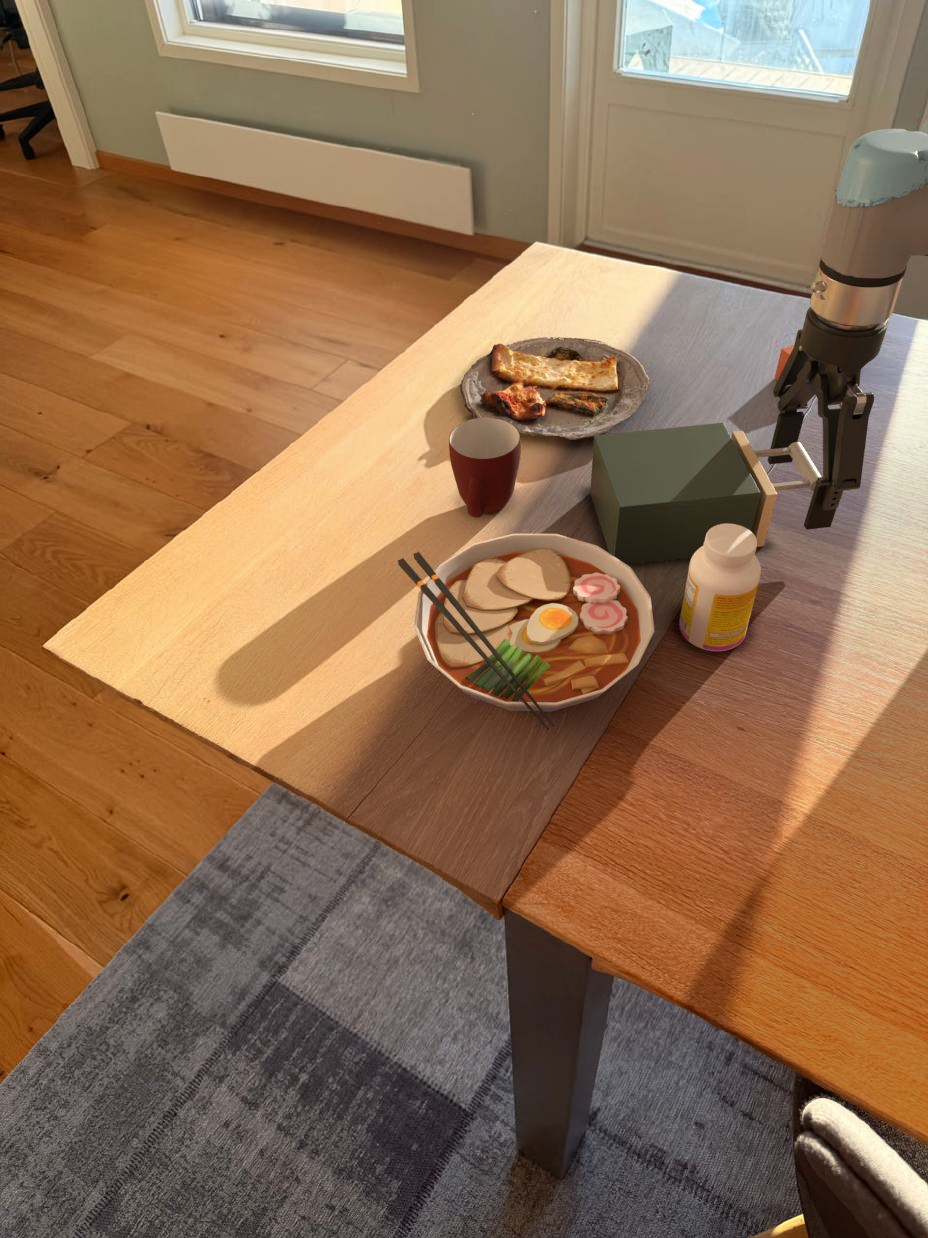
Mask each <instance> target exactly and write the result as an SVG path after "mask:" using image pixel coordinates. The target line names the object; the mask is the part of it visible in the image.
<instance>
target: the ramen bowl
mask: <svg viewBox="0 0 928 1238" xmlns="http://www.w3.org/2000/svg"><path fill="white" fill-rule="evenodd" d="M413 559H414V560H415V562H416V563H417V564H418V565H419V566H420V568H421V570H423V571H424V573H425V574H426V575H427V576H428V577H429V578H428V579H427V580H426V582H424V581H423V580H422V578H421V576H419V575H418V574H417V572H416V571H415V569H413V568H412V566H411V565H410V564H409V563H408V562H407V560H405V558H404V557H402V558H400V559H398V560H397V565H398V566H399V567H400V569H401V570H402V571H403V572H404V573H405V574H406V575H407V576H408V577H409V578H410V580H411V581H412V582H413V583H414V584H415V585H416V586H417V587H418V588H419V589H420V590H419V592H418V594H417V599H416V610H415V614H414V623H413V628H414V630H415V633H416V636H417V638H418V640H419V643H420V646H421V648H422V650H423V653H424V655H425V658H426V660H427V661H428V662H429V663H430V664H431V665H432V666H433V667H434V668H435V669H436V670H437V671H438V672H440V673H441V674H442V675H443V676H444V677H445V678H447V679H448V680H449V681H450V682H451V683H452V684H454V685H455V686H456V687H457V688H459V690H460V691H462V692H463V693H464V694H466V695H468V696H470V697H472V698H475V699H477V700H479V701H483V702H485V703H488V704H491V705H493V706H496V707H499V708H501V709H504V710H507V711H511V712H531V713H532V714H533V716H534V717H536V719H537V720H538V721H539V722H540V723H541V724H542V725H543V726H544V728H545V729H546V730H550V727H549V726H548V725H547V724H546V723H545V721H543V720H542V718H541V717H540V716H539V715H538V714H537V712H540V713H541V714H542V715H543V717H544V718H545V719H546V720H547V721H548V723H549V724H550V725H551V726H552V728H554V727H555V724H554V723H553V722H552V720H551V719H550V717H548V715H547V714H546V713H545V712H551V713H552V712H555V711H559V710H562V709H565V708H569V707H573V706H577V705H579V704H583V703H586V702H589V701H592V700H595V699H597V698H599V697H600V696H601V695H603V694H604V693H605V692H607V691H608V690H609V689H610V688H612V687H613V686H615V684H616V683H618V682H619V681H620V680H622V679H623V678H624V677H626V676H627V675H628V674H629V673H631V671H633V670H634V669H635V668H636V667H637V666H639V664H640V662H641V659H642V657H643V655H644V653H645V652H646V650H647V648H648V645H649V643H650V641H651V639H652V637H653V635H654V633H655V624H654V615H653V607H652V598H651V595H650V594H649V592H648V590H647V589H646V588H645V586H644V585H643V583H642V582H641V580H640V578H638V576H637V574H636V573H635V572H634V570H633V568H632V567H631V566H629V564H627V565H626V564H625V563H623V562H622V561H620V560H619V559H617V558H616V557H614V556H613V555H611V554H610V553H609V551H606V550H605V549H603V548H602V547H600V546H598V545H596V544H593V543H591V542H587V541H583V540H579V539H576V538H574V537H573V538H572V537H569V536H565V535H562V534H559V533H511V534H506V535H503V536H502V535H501V536H498V537H495V538H490V539H486V540H482V541H479V542H474V543H471V544H470V545H469V546H467V547H466V548H464V549H462V550H461V551H459V552H457V553H456V554H454V555H453V556H451V557H449V558H448V559H446V560H444V561H443V562H441V563H440V564H439V565H438V566H437V568H436V569H435V570H434V569H433V568H432V567H431V565H430V564H429V562H428V561H427V560H426V558H424V556H423V555H422V554H421V553H420V551H416V552H414V553H413Z"/></svg>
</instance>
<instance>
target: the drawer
mask: <svg viewBox="0 0 928 1238" xmlns="http://www.w3.org/2000/svg"><path fill="white" fill-rule="evenodd" d="M731 438H732V440H733V442H734V444H735V446H736V448H737V450H738V451H739V453H740V455H741V457H742V459H743V461H744V463H745V465H746V466H747V468H748V470H749V472H750V474H751V476H752V478H753V480H754V482H755V483H756V485H757V487H758V489H759V491H760V497H759V501H758V505H757V509H756V513H755V517H754V521H753V525H752V529H751V532H752V533H753V534H754V535H755V537H756V539H757V548H759V547H764V546H765V543H766V540H767V535H768V532H769V528H770V524H771V521H772V517H773V513H774V509H775V505H776V502H777V498H778V493H777V491H788V490H796V489H806V488H809V490H810V491H812V492H814V489H815V486H816V480H817V479H818V477H823V475H821V473H820V471H819V470H818V469H817V467H816V465H815V464H814V462H813V460H812V459H811V457H810V455H809V454H808V451H807V450H806V449H805V446H803V444H802V442H800V441H798V442H794V443H792V444H791V445H790V446H789V447H788V448H778V449H769V448H768V449H759V450H754V449H753V447H752V445H751V444H750V442H749V440H748V438H747V436H746V434H745V433H744V430H737V431H732V432H731ZM788 454H790V455H791V457H792V459H793V460H792V462H793V463H794V464H795V466H796V467H797V469H798V470H799V473H800V474H801V476H802V477H803V479H804V480H794V481H785V482H775V483H774V482H773V483H772V482H771V480H770V478H769V475H768V474H767V472H766V471H765V469H764V467H763V465H762V463H761V462H760V458H768V456H778V455H788Z"/></svg>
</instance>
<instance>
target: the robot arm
mask: <svg viewBox="0 0 928 1238" xmlns="http://www.w3.org/2000/svg"><path fill="white" fill-rule="evenodd" d="M913 256H916V257H917V256H918V257H921V256H922V257H928V118H927V119H926V120H925V122H923V125H922V127H921V129H920V131H917V130H915V131H910V130H906V129H905V128H883V129H877V130H873V131H870V132H867V133H865V134H863V135H861V136H859V137H858V138H857V139H856V140H855V141H854V142H853V143H852V145H851V146H850V148H849V149H848V152H847V155H846V158H845V162H844V165H843V168H842V170H841V173H840V177H839V180H838V184H837V186H836V188H835V190H834V199H833V205H832V209H831V212H830V217H829V221H828V225H827V231H826V235H825V239H824V243H823V246H822V251H821V256H820V260H819V264H818V268H817V272H816V276H815V279H814V281H813V282H812V283H811V284H810V291H811V296H810V301H809V305H810V306H809V308H808V309H807V310H806V313H805V318H804V320H803V321H804V322H803V325H802V329H798V330H797V332H796V336H795V339H794V344H793V345H794V348H793V350H792V352H791V354H790V356H789V358H788V360H787V362H786V364H785V366H784V368H783V370H782V372H781V374H780V376H779V378H778V380H776V383H775V384H774V387H773V390H772V394H773V397H774V398H778V401H777V410H778V411H779V413H778V415H777V419H776V424H775V428H774V432H773V436H772V440H771V445H770V449H778V448H788V447H789V446H790V445H791V444H792V443H794V442H799V439H800V438H799V437H800V434H801V431H802V426H803V423H804V421H805V420H804V419H805V416H806V415H805V413H804V412H803V410H805V409H809V408H808V402H809V401H811V399H813V397H814V396H816V399H817V415H818V417H819V418H821V419H822V477H818V479H817V480H816V486H815V489H814V491H812V492H813V493H812V495H811V499H810V503H809V506H808V508H807V513H806V516H805V519H804V523H803V527H804V528H805V530H816V529H826V528H831V527H832V524H833V521H834V517H835V515H836V512H837V509H838V507H839V505H840V503H841V498H842V496H843V494H844V492H845V491H852V490H859V489H860V488H861V483H862V476H863V467H864V460H865V452H866V443H867V433H868V426H869V418H870V414H871V412H872V409H873V405H874V403H875V395H874V393H873V392H872V391H871V392H870V391H869V392H863V391H862V389H860V384H861V374H862V373H861V372H862V369H863V368H864V367H865V366H866V365H867V364H869V363H870V362H871V361H873V360H874V359H876V357H878V355H879V354H880V351H881V348H882V345H883V343H884V339H885V336H886V333H887V331H888V325H889V318H890V317H891V316H892V315H893V313H894V309H895V306H896V303H897V300H898V297H899V293H900V289H901V286H902V283H903V280H904V277H905V275H906V271H907V267H908V263H909V261H910V259H911V257H913ZM837 405H839V407H838V408H829V406H837ZM798 410H802V411H798ZM767 463H768V464H769V465H779V464H788V463H793V459H792V457H791V455H790V454H788V455H778V456H768V457H767Z"/></svg>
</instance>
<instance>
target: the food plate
mask: <svg viewBox="0 0 928 1238" xmlns="http://www.w3.org/2000/svg"><path fill="white" fill-rule="evenodd" d="M645 370H646V369H645V367H644V365H642V364H641V362H640V361H639V360H638V359H637V358H636V357H635V356H633V355H632V354H630V353H629V352H628V351H624V350H623V349H621V348H617V347H615V346H613V345H610V344H609V343H608V342H606V343H605V342H604V341H601V340H596V339H589V338H578V337H559V336H558V337H552V336H550V337H549V336H548V337H547V336H544V337H536V338H535V337H534V338H527V339H523V340H517V341H516V342H513V343H510V344H507V345H505V344H503V343H497V344H496V343H495V344H493V346H492V349H491V350H490V352H489V353H488V354H485V355H484V356H482V357H479V358H478V359H477V360H476V361H475V363H473V364H472V365H471V366H470V368H469V369H468V370H467V371H466V372H465V373H464V375H463V378H462V379H461V382H460V385H459V389H460V394H461V396H462V400H463V402H464V407H465V409H467V412H469V413H470V414H471V418H473V417H474V416H475V418H484V417H489V418H497V419H501V420H504V421H507V422H509V423H511V424H512V425H513V426H515V427H516V428H517V430H518V431H519V433H522V434H526V435H530V436H531V437H533V436H544V437H553V436H554V437H558V436H559V437H560V438H561V437H562V438H563V437H564V438H565V439H567V440H570V441H572V440H580V439H587V438H591V437H594V436H595V435H603V434H605V433H606V434H607V432H608V431H610V430H612V429H613V428H614V429H615V426H617V424H620V423H622V422H623V421H626V420H627V419H629V418H630V417H631V416H633V415H634V413H635V412H636V411H637V410H638V409H639V408H640V407H641V406H642V404H643V402H644V400H645V398H646V394H647V392H648V388H649V384H650V382H651V381H650V377H649V375H648V373H647V372H646V371H645Z"/></svg>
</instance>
